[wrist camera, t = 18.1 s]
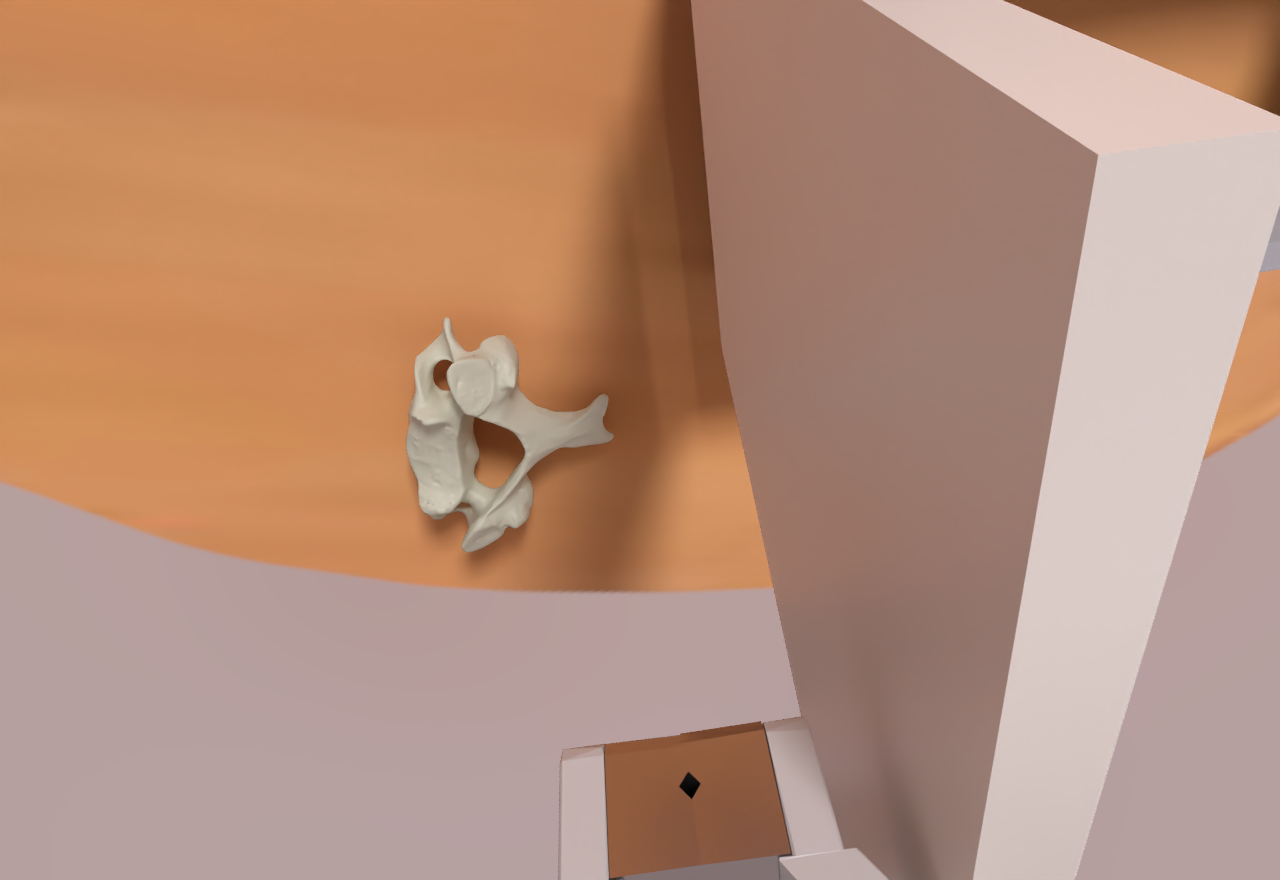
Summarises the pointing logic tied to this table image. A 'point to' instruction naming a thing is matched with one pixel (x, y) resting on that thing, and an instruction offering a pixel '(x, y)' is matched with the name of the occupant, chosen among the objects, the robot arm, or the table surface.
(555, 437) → the spine bone
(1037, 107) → the lid
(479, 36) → the table surface
